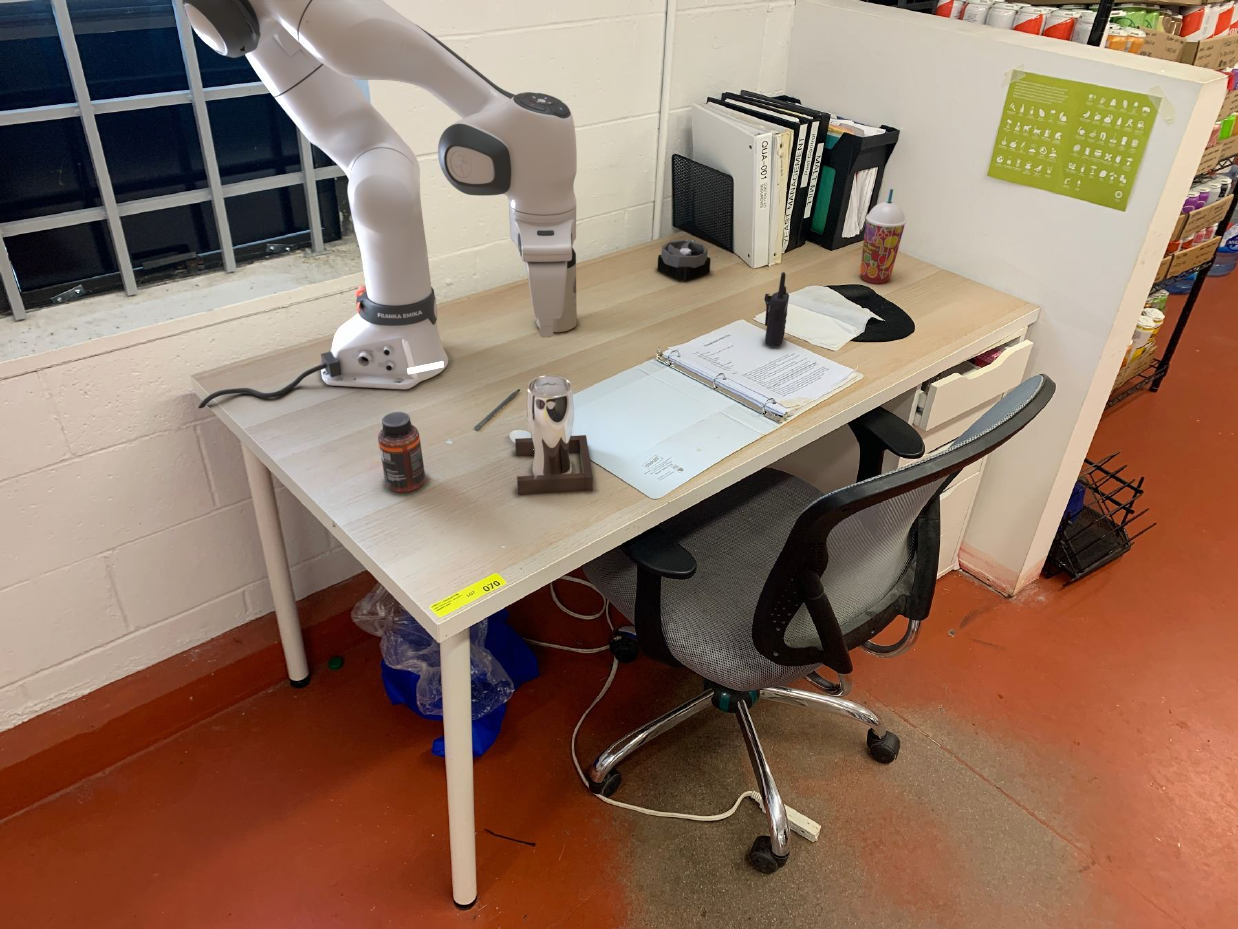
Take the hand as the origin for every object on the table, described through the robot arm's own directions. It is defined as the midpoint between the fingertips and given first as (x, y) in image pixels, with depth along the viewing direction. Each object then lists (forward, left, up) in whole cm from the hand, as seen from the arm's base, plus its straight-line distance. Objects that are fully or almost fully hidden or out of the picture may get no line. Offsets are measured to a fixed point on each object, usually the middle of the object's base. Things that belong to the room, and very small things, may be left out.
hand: (544, 319), depth 129 cm
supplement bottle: (-22, -4, -24) cm, 33 cm away
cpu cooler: (+34, +71, -24) cm, 83 cm away
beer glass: (0, -3, -24) cm, 24 cm away
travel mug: (+4, +47, -24) cm, 53 cm away
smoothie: (+76, +64, -24) cm, 103 cm away
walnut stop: (0, -3, -24) cm, 24 cm away
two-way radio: (+45, +36, -24) cm, 63 cm away
